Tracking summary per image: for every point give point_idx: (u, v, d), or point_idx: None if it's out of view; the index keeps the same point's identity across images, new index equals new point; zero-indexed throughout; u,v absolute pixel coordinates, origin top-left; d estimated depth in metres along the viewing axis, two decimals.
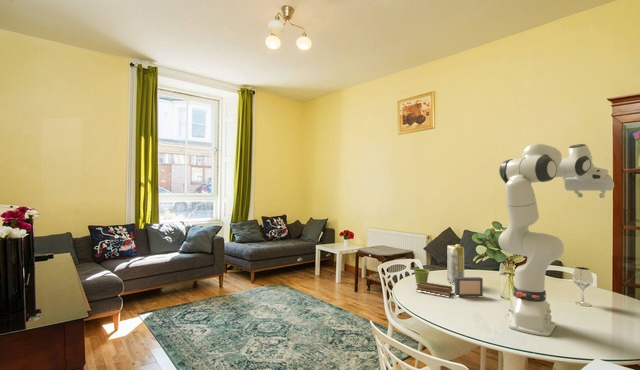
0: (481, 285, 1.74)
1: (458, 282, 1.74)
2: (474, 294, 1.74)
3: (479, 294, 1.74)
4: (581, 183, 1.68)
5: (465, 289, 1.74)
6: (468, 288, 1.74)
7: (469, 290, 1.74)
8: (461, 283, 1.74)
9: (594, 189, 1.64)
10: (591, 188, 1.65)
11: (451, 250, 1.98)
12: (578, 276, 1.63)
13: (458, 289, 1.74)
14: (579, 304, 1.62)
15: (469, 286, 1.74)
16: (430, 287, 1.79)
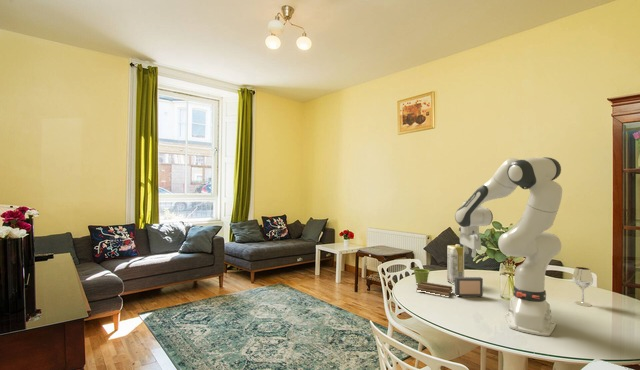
0: (481, 285, 1.74)
1: (458, 282, 1.74)
2: (474, 294, 1.74)
3: (479, 294, 1.74)
4: None
5: (465, 289, 1.74)
6: (468, 288, 1.74)
7: (469, 290, 1.74)
8: (461, 283, 1.74)
9: None
10: None
11: (451, 250, 1.98)
12: (578, 276, 1.63)
13: (458, 289, 1.74)
14: (579, 304, 1.62)
15: (469, 286, 1.74)
16: (430, 287, 1.79)
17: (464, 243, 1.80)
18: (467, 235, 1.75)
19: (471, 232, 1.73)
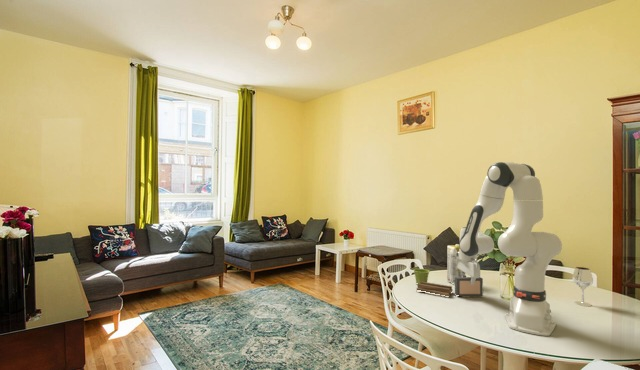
0: (481, 285, 1.74)
1: (458, 282, 1.74)
2: (474, 294, 1.74)
3: (479, 294, 1.74)
4: None
5: (465, 289, 1.74)
6: (468, 288, 1.74)
7: (469, 290, 1.74)
8: (461, 283, 1.74)
9: None
10: None
11: (451, 250, 1.98)
12: (578, 276, 1.63)
13: (458, 289, 1.74)
14: (579, 304, 1.62)
15: (469, 286, 1.74)
16: (430, 287, 1.79)
17: (462, 269, 1.79)
18: (465, 262, 1.74)
19: (470, 259, 1.72)
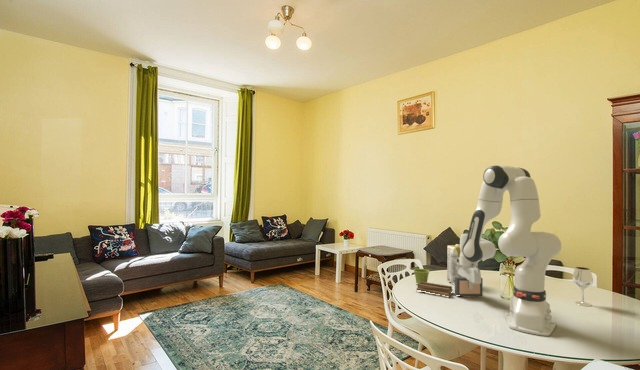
0: (481, 285, 1.74)
1: (458, 282, 1.74)
2: (474, 294, 1.74)
3: (479, 294, 1.74)
4: None
5: (465, 289, 1.74)
6: None
7: (469, 290, 1.74)
8: (461, 283, 1.74)
9: None
10: None
11: (451, 250, 1.98)
12: (578, 276, 1.63)
13: (458, 289, 1.74)
14: (579, 304, 1.62)
15: None
16: (430, 287, 1.79)
17: (462, 275, 1.78)
18: (466, 267, 1.73)
19: (470, 265, 1.71)
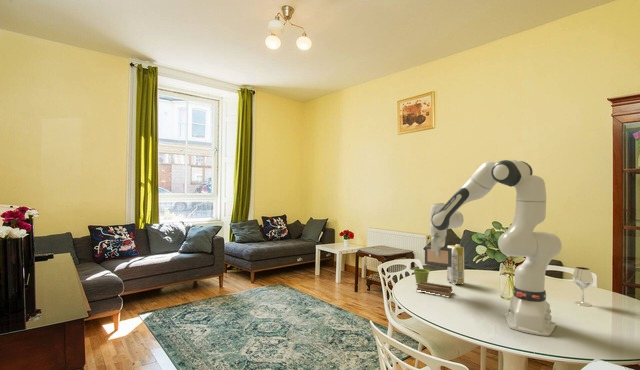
0: (450, 256, 1.77)
1: (426, 250, 1.83)
2: (442, 263, 1.79)
3: (447, 264, 1.78)
4: (440, 241, 1.79)
5: (433, 257, 1.81)
6: None
7: (437, 259, 1.80)
8: (429, 251, 1.83)
9: (442, 246, 1.83)
10: (442, 245, 1.82)
11: None
12: (578, 276, 1.63)
13: (426, 256, 1.83)
14: (579, 304, 1.62)
15: None
16: (430, 287, 1.79)
17: None
18: (433, 237, 1.81)
19: (434, 234, 1.78)
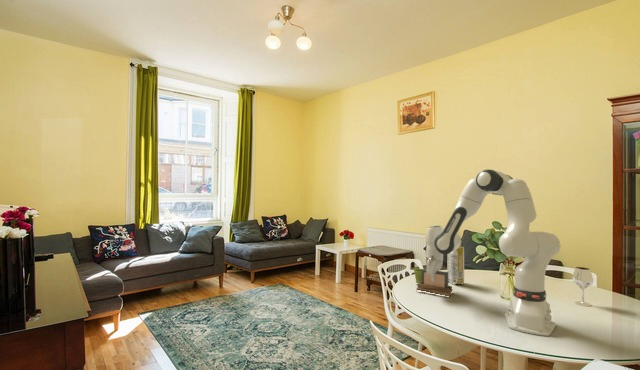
0: (446, 280, 1.77)
1: (423, 273, 1.84)
2: None
3: None
4: (436, 264, 1.79)
5: (429, 281, 1.82)
6: None
7: (433, 282, 1.80)
8: (425, 275, 1.83)
9: (439, 268, 1.83)
10: (438, 268, 1.82)
11: None
12: (578, 276, 1.63)
13: (423, 280, 1.84)
14: (579, 304, 1.62)
15: None
16: (430, 287, 1.79)
17: None
18: None
19: (430, 257, 1.79)
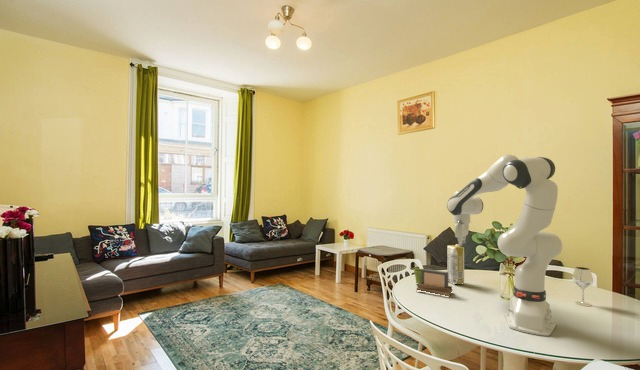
0: (446, 280, 1.77)
1: (423, 273, 1.84)
2: None
3: None
4: (464, 228, 1.79)
5: (429, 281, 1.82)
6: (432, 280, 1.81)
7: (433, 282, 1.80)
8: (425, 275, 1.83)
9: (466, 234, 1.83)
10: (465, 233, 1.82)
11: (451, 250, 1.98)
12: (578, 276, 1.63)
13: (423, 280, 1.84)
14: (579, 304, 1.62)
15: (433, 279, 1.80)
16: (430, 287, 1.79)
17: None
18: None
19: (458, 221, 1.78)
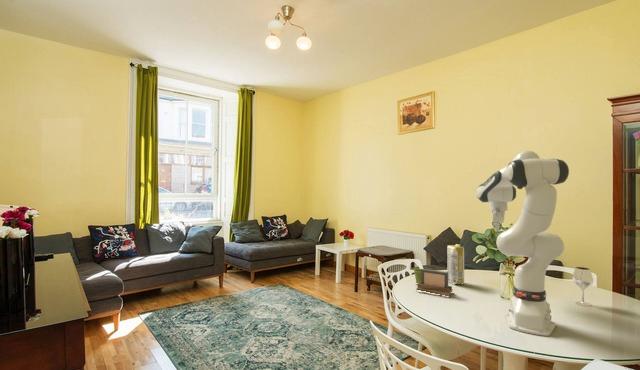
0: (446, 280, 1.77)
1: (423, 273, 1.84)
2: None
3: None
4: (501, 216, 1.78)
5: (429, 281, 1.82)
6: (432, 280, 1.81)
7: (433, 282, 1.80)
8: (425, 275, 1.83)
9: (502, 222, 1.82)
10: (502, 221, 1.81)
11: (451, 250, 1.98)
12: (578, 276, 1.63)
13: (423, 280, 1.84)
14: (579, 304, 1.62)
15: (433, 279, 1.80)
16: (430, 287, 1.79)
17: None
18: (493, 212, 1.80)
19: (495, 208, 1.77)
